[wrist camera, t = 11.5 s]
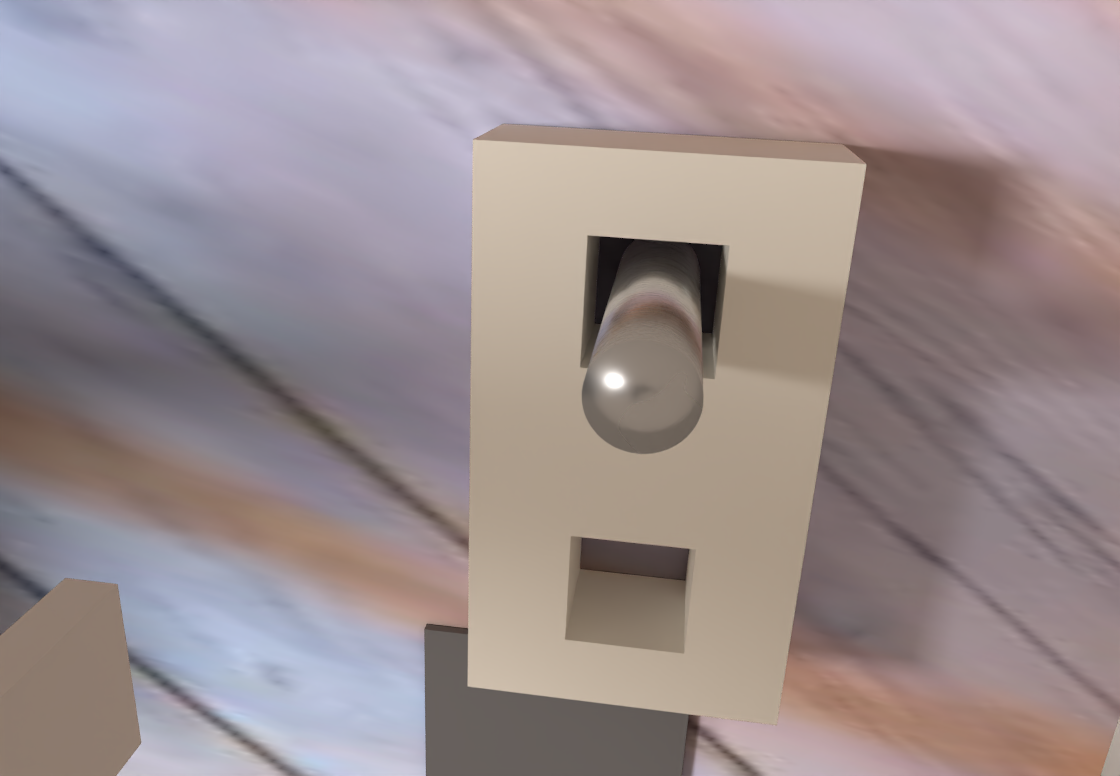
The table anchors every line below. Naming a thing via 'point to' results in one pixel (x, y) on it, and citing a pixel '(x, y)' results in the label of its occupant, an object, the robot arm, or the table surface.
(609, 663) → the hole block
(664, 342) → the peg
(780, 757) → the table surface
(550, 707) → the mat
